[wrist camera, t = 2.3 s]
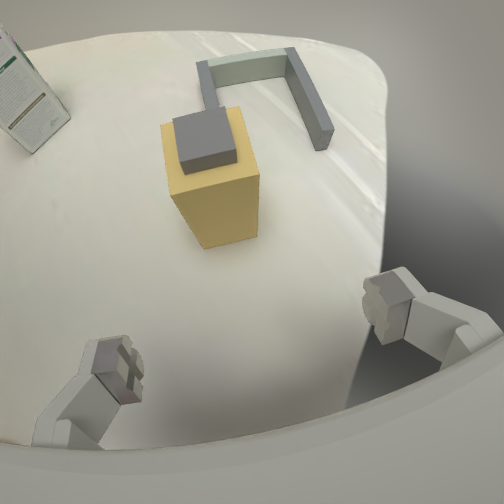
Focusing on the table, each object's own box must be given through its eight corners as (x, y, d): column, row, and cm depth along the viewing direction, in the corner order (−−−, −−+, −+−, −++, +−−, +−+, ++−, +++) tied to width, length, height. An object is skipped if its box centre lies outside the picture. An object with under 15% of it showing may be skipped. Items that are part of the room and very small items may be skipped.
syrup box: (72, 118, 26) (2, 22, 12) (31, 157, 25) (-54, 77, 11) (56, 95, 27) (-4, 10, 13) (18, 130, 26) (-53, 56, 12)
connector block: (203, 249, 23) (163, 183, 12) (193, 200, 24) (154, 110, 13) (257, 236, 23) (259, 160, 12) (244, 188, 24) (238, 90, 13)
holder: (220, 170, 25) (216, 151, 22) (200, 83, 27) (195, 62, 24) (326, 149, 25) (334, 129, 22) (291, 68, 27) (294, 47, 24)
